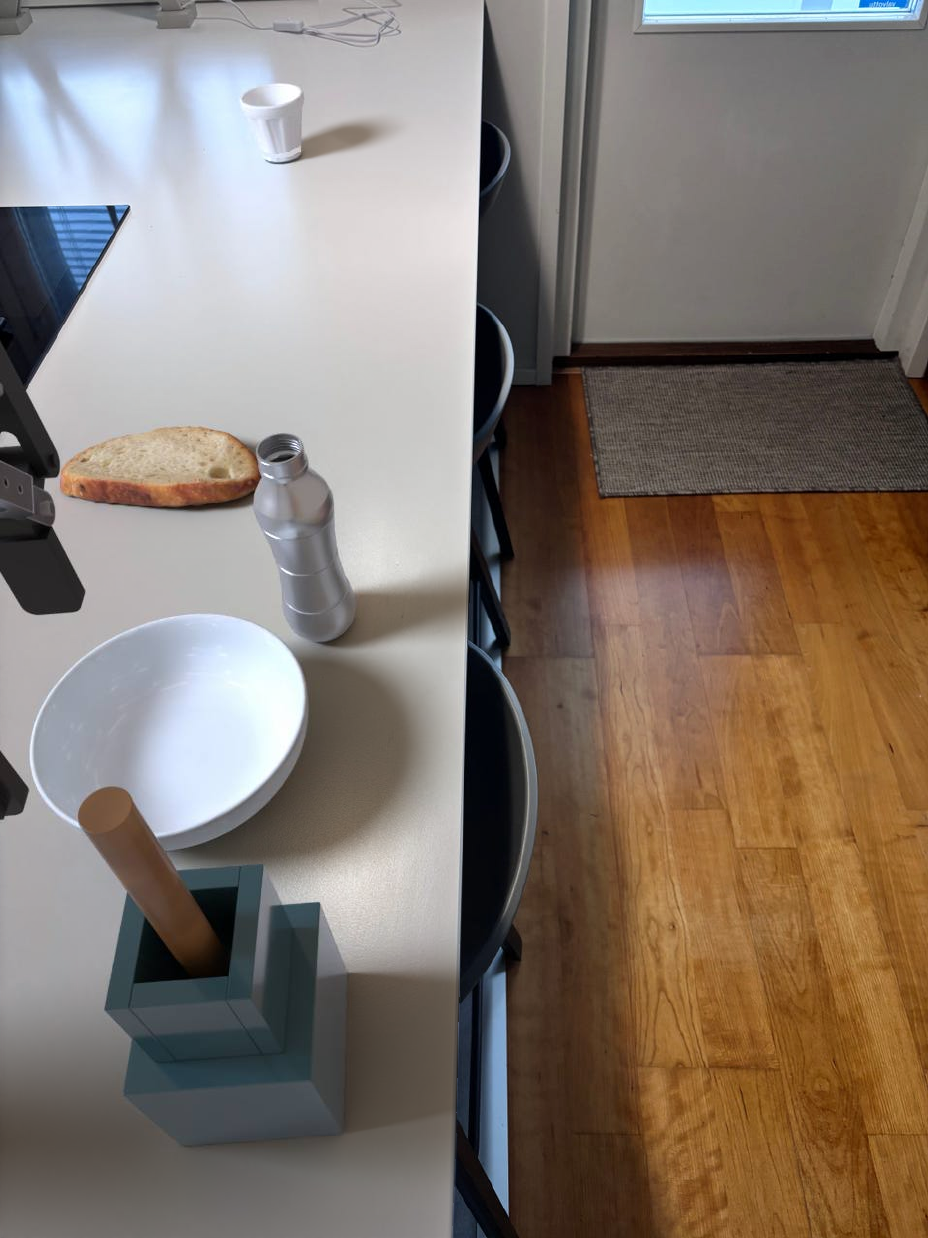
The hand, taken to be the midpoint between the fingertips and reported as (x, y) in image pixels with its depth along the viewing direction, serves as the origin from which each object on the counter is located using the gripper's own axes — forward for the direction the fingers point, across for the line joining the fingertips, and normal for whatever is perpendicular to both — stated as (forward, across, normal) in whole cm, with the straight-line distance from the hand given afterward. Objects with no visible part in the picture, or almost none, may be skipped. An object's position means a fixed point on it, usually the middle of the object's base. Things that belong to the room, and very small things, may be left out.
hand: (30, 699), depth 33 cm
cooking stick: (+27, 0, 0) cm, 27 cm away
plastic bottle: (+38, -37, +2) cm, 53 cm away
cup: (+38, -140, -9) cm, 145 cm away
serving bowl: (+39, -23, -8) cm, 46 cm away
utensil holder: (+38, 0, 0) cm, 38 cm away
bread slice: (+39, -59, -16) cm, 72 cm away
